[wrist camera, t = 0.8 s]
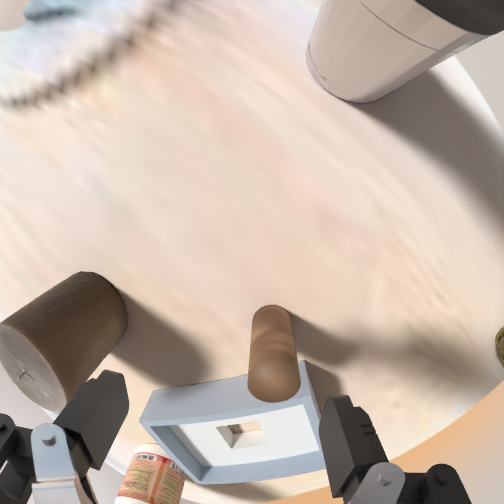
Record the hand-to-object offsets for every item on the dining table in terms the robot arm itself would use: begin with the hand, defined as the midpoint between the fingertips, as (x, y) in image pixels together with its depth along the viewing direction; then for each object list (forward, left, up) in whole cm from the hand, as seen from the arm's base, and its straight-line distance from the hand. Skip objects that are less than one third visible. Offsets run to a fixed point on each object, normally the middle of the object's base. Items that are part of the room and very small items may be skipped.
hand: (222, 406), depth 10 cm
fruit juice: (+26, +29, -19) cm, 43 cm away
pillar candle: (+20, 0, -19) cm, 27 cm away
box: (+8, +21, -19) cm, 29 cm away
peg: (0, +7, -19) cm, 20 cm away
